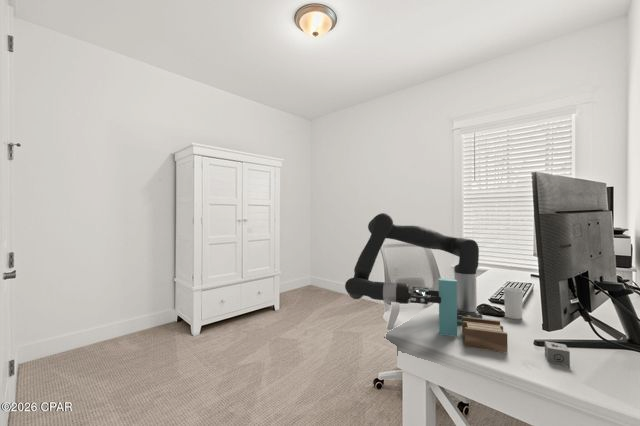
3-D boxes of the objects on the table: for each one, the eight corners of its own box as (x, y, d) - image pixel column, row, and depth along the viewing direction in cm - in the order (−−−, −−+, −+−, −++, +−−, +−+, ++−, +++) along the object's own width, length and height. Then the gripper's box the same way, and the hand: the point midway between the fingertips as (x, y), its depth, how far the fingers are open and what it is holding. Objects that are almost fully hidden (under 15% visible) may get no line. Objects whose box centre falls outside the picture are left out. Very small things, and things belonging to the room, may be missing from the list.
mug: (526, 320, 120) (525, 291, 120) (508, 319, 121) (508, 290, 121) (514, 312, 130) (514, 285, 130) (498, 311, 131) (498, 285, 131)
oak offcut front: (467, 342, 98) (467, 325, 98) (501, 347, 94) (501, 329, 94) (468, 345, 96) (468, 327, 96) (502, 350, 92) (502, 331, 92)
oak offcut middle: (466, 339, 100) (466, 322, 100) (500, 344, 96) (499, 326, 96) (467, 342, 98) (467, 324, 98) (501, 347, 94) (501, 328, 94)
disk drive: (455, 316, 127) (455, 328, 113) (455, 310, 127) (454, 320, 114) (481, 320, 122) (485, 332, 109) (481, 313, 122) (484, 325, 109)
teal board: (439, 331, 108) (438, 278, 108) (456, 333, 105) (456, 279, 106) (439, 334, 105) (438, 280, 105) (457, 337, 103) (456, 281, 103)
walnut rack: (462, 334, 106) (461, 316, 106) (499, 339, 102) (499, 320, 102) (465, 348, 95) (465, 328, 95) (507, 355, 91) (507, 333, 91)
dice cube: (544, 357, 89) (544, 341, 89) (565, 361, 87) (565, 344, 87) (547, 364, 85) (547, 347, 85) (569, 368, 83) (569, 351, 83)
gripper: (393, 287, 105) (441, 291, 99) (398, 279, 119) (440, 282, 113) (393, 307, 105) (441, 313, 99) (398, 297, 119) (440, 301, 113)
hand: (440, 297), depth 106 cm, fingers open, 8 cm apart
